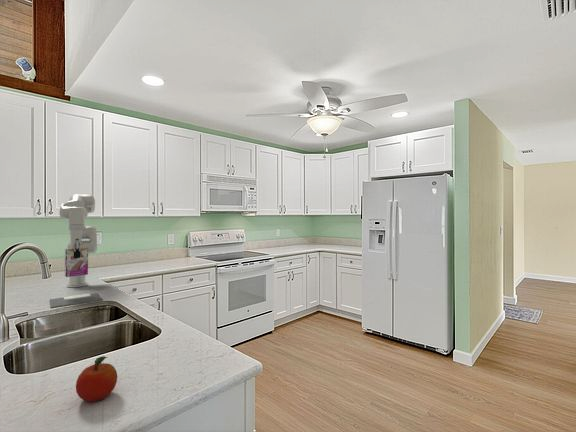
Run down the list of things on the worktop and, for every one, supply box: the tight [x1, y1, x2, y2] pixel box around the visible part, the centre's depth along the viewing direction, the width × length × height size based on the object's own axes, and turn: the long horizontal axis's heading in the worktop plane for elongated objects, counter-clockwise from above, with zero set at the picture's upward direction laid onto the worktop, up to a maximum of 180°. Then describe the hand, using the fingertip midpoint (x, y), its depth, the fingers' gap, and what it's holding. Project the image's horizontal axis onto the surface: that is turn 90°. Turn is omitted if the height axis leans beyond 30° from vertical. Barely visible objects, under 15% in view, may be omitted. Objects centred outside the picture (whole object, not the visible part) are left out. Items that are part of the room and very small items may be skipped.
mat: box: [49, 292, 103, 309], centre depth 178 cm, size 20×24×1 cm
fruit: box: [75, 356, 118, 403], centre depth 82 cm, size 10×10×10 cm
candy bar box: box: [64, 248, 89, 278], centre depth 184 cm, size 11×5×16 cm, turn 134°
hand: (76, 257), depth 184 cm, fingers closed on candy bar box, 5 cm apart
